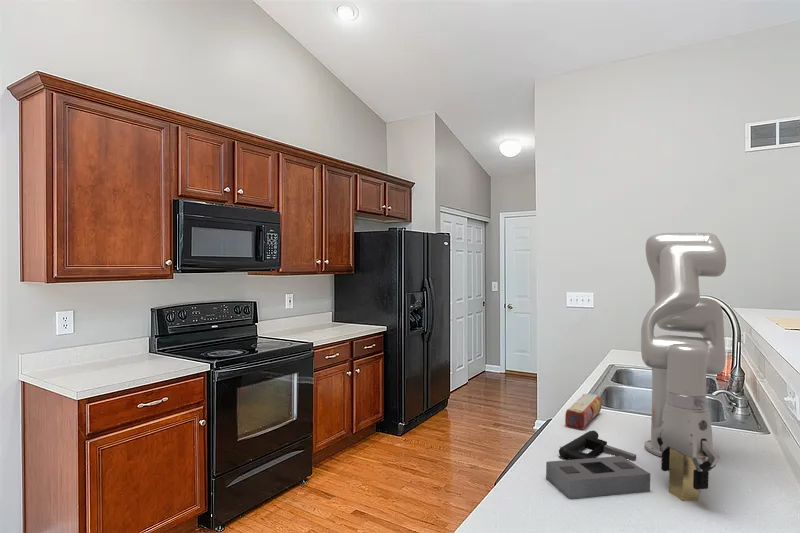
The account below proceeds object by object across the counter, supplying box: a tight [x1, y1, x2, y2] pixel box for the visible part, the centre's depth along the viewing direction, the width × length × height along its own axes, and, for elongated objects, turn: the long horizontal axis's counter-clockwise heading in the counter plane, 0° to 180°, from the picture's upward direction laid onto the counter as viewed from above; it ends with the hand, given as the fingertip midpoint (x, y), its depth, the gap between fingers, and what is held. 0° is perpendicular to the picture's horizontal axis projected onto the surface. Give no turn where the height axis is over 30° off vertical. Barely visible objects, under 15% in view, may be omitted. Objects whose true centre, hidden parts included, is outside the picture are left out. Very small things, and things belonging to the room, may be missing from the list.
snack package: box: [564, 393, 602, 431], centre depth 157 cm, size 21×7×7 cm, turn 145°
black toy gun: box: [558, 430, 637, 462], centre depth 129 cm, size 3×20×16 cm
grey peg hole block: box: [545, 455, 651, 500], centre depth 111 cm, size 20×10×4 cm, turn 102°
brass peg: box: [668, 448, 700, 502], centre depth 107 cm, size 4×4×10 cm
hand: (683, 478), depth 107 cm, fingers open, 8 cm apart
